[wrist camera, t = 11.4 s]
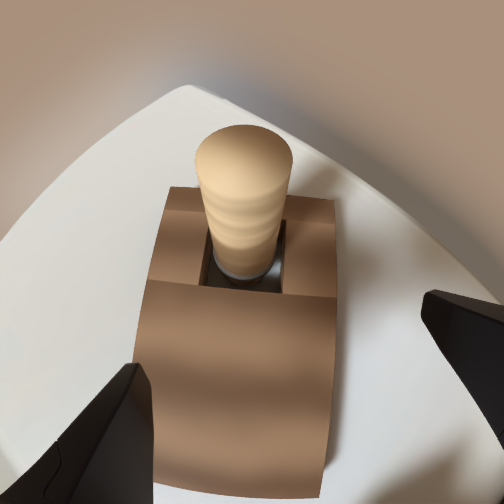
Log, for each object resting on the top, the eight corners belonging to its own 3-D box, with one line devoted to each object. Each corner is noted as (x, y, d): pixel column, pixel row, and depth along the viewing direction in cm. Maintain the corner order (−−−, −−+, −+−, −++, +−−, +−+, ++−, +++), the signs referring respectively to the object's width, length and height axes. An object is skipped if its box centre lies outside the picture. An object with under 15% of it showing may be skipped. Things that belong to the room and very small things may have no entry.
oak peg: (253, 303, 22) (261, 218, 10) (206, 274, 22) (170, 169, 11) (282, 259, 23) (313, 147, 12) (237, 233, 24) (230, 112, 13)
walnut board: (309, 483, 16) (318, 497, 13) (138, 462, 16) (123, 473, 13) (325, 219, 25) (333, 200, 22) (177, 206, 25) (170, 186, 22)
